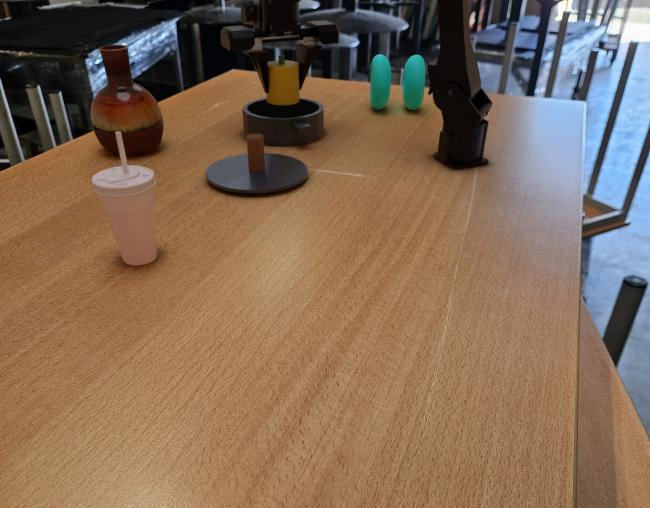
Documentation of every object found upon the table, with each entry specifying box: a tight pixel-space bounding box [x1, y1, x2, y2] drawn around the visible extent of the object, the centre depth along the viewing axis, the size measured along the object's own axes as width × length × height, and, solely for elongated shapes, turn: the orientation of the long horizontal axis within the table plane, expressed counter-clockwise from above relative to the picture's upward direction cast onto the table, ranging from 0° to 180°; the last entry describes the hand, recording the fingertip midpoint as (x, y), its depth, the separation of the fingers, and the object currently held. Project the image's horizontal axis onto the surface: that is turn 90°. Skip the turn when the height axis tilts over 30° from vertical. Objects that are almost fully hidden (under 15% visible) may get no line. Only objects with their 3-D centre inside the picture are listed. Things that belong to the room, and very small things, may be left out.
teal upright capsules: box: [369, 53, 426, 111], centre depth 112 cm, size 10×10×10 cm
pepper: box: [266, 54, 300, 105], centre depth 97 cm, size 6×6×7 cm
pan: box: [241, 97, 325, 147], centre depth 101 cm, size 14×19×4 cm
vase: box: [89, 44, 164, 157], centre depth 90 cm, size 11×11×15 cm
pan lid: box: [205, 134, 309, 194], centre depth 83 cm, size 15×15×6 cm
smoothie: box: [91, 132, 158, 267], centre depth 61 cm, size 6×6×14 cm
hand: (283, 91), depth 98 cm, fingers closed on pepper, 5 cm apart
